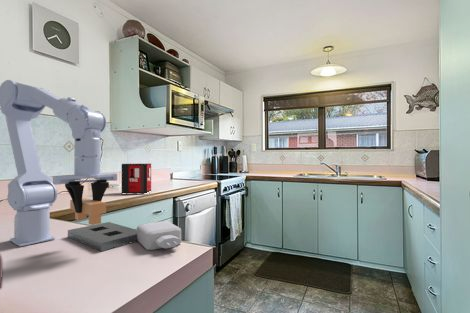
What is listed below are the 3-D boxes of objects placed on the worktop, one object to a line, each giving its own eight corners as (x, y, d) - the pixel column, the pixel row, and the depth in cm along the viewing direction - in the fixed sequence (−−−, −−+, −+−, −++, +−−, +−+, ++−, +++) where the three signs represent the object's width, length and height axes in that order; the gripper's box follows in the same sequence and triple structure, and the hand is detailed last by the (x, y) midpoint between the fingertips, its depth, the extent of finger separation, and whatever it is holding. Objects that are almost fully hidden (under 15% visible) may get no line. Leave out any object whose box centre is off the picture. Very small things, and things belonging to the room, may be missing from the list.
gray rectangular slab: (67, 237, 74) (67, 230, 74) (108, 228, 84) (108, 221, 84) (101, 251, 62) (101, 243, 62) (144, 239, 72) (144, 232, 72)
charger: (153, 259, 58) (137, 242, 70) (191, 251, 63) (169, 236, 75) (153, 238, 58) (136, 224, 70) (191, 231, 63) (169, 220, 75)
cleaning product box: (151, 192, 177) (151, 163, 177) (146, 194, 168) (146, 163, 168) (127, 192, 177) (127, 163, 177) (121, 194, 168) (121, 163, 168)
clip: (70, 219, 67) (70, 199, 67) (84, 216, 70) (84, 198, 70) (90, 226, 60) (90, 204, 60) (106, 223, 62) (106, 202, 63)
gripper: (60, 156, 57) (60, 218, 57) (123, 157, 68) (123, 208, 68) (49, 157, 61) (49, 214, 61) (110, 157, 73) (110, 205, 72)
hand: (87, 211), depth 65 cm, fingers closed on clip, 3 cm apart
